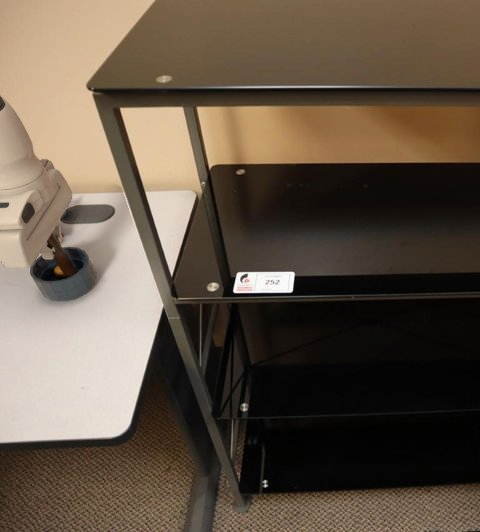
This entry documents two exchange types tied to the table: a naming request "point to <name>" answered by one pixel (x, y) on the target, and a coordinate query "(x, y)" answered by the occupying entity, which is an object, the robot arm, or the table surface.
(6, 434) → the table surface
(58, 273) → the bead
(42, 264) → the bowl
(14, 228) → the robot arm
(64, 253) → the stick
